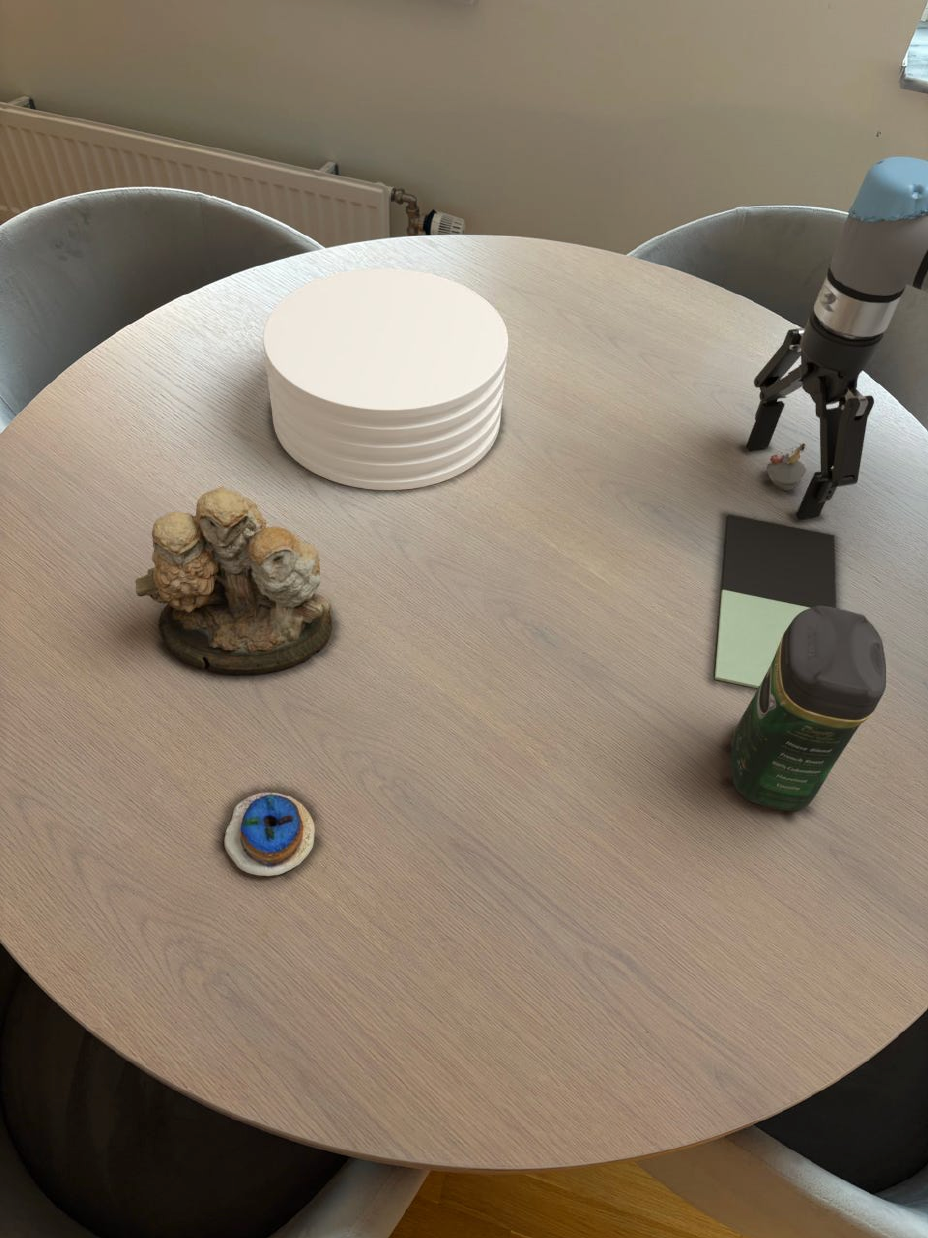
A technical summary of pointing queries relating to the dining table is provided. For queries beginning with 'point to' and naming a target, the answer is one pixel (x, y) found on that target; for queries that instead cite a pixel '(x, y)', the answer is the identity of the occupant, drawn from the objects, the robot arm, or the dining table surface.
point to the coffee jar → (808, 707)
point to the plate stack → (385, 377)
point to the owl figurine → (235, 588)
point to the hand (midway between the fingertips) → (781, 480)
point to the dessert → (269, 834)
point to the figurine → (786, 469)
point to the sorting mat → (767, 592)
